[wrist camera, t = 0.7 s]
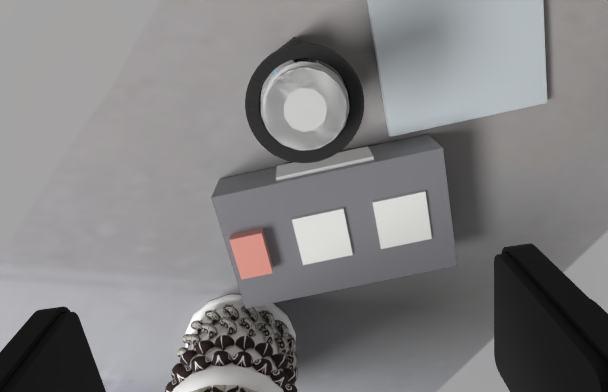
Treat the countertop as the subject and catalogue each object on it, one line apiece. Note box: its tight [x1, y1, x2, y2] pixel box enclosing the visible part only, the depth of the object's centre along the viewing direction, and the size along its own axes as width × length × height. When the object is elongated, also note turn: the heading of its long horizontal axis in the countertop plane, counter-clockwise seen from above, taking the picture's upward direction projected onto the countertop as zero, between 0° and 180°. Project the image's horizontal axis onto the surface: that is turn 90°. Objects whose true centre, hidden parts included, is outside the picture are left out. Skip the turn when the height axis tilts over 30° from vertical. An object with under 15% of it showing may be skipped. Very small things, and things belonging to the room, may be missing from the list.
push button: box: [245, 37, 364, 163], centre depth 26 cm, size 7×5×10 cm
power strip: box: [211, 134, 457, 309], centre depth 31 cm, size 14×8×4 cm, turn 102°
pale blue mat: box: [367, 0, 547, 137], centre depth 29 cm, size 10×10×1 cm
